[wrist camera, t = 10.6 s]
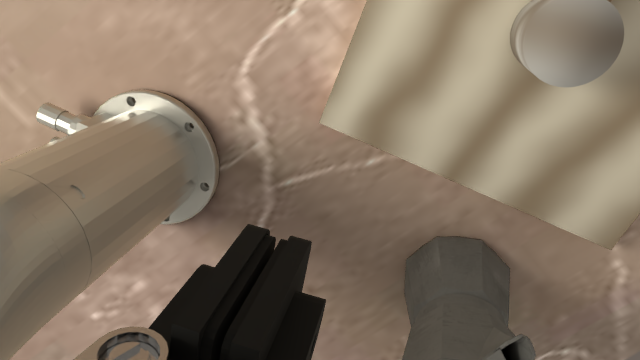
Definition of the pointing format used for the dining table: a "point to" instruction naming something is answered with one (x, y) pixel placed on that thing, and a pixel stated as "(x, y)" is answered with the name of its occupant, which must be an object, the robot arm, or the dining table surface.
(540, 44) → the dial
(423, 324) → the coffeepot
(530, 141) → the dial board
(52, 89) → the dining table surface
